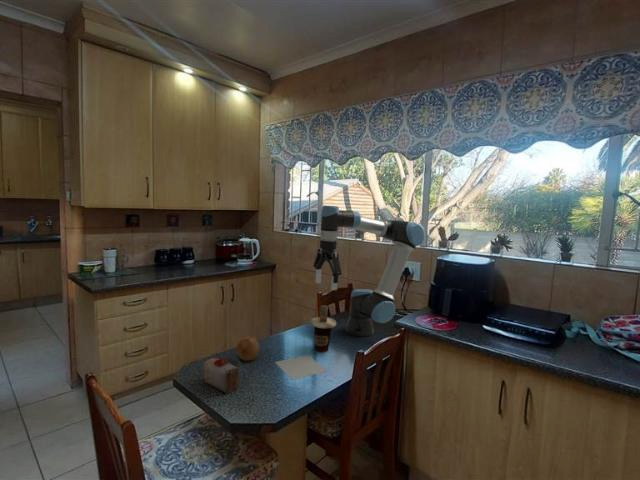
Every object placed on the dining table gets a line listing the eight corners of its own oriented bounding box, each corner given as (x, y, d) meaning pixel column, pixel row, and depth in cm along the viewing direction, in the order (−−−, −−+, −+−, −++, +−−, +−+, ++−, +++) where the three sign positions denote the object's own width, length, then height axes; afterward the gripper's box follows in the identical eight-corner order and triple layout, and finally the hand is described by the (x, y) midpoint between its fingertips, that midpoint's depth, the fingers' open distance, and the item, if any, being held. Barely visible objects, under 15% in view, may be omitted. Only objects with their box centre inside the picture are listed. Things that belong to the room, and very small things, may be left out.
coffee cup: (328, 355, 156) (330, 327, 155) (310, 353, 158) (312, 325, 157) (332, 348, 165) (333, 321, 164) (315, 345, 166) (316, 319, 165)
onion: (239, 353, 153) (239, 332, 152) (261, 355, 153) (262, 333, 152) (232, 364, 143) (233, 340, 142) (256, 365, 143) (257, 342, 142)
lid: (327, 318, 168) (327, 301, 167) (341, 326, 158) (342, 308, 157) (305, 321, 162) (306, 304, 161) (319, 329, 152) (320, 311, 151)
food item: (199, 383, 127) (200, 357, 126) (217, 374, 134) (217, 350, 133) (225, 396, 120) (225, 368, 119) (242, 386, 127) (243, 360, 126)
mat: (307, 356, 154) (308, 355, 154) (327, 372, 141) (327, 371, 141) (274, 363, 146) (274, 362, 146) (291, 381, 132) (291, 379, 132)
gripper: (307, 237, 165) (305, 280, 167) (336, 243, 144) (333, 293, 146) (321, 237, 169) (318, 279, 171) (351, 243, 147) (348, 292, 150)
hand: (325, 286), depth 158 cm, fingers open, 13 cm apart
